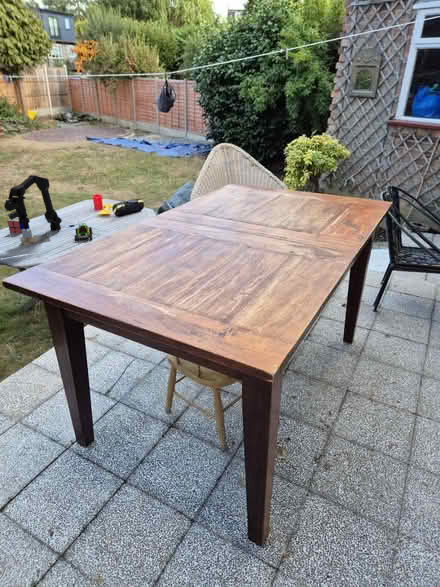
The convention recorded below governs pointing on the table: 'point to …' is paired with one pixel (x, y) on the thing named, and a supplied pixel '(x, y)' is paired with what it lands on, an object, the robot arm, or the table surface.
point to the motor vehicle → (83, 232)
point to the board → (39, 239)
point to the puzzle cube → (15, 225)
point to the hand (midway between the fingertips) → (26, 229)
